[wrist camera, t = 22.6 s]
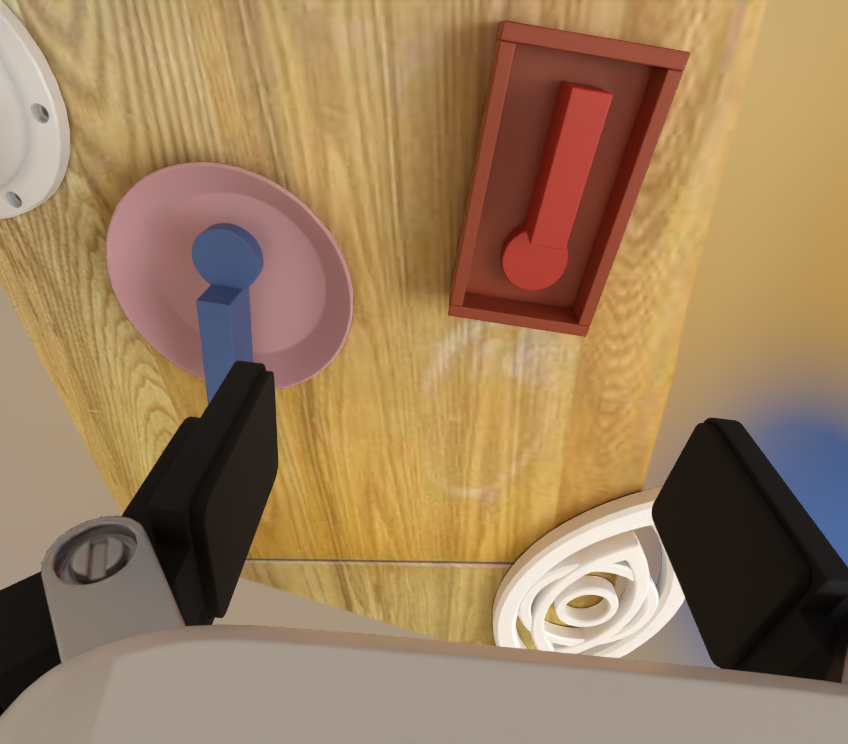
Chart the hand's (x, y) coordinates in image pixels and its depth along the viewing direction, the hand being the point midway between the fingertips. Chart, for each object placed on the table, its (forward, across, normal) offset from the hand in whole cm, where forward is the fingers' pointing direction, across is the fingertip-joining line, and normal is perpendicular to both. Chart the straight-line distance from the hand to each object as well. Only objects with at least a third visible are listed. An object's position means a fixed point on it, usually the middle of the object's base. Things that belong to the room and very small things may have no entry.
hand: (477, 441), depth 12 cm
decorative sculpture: (+17, -18, +19) cm, 31 cm away
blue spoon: (+18, +12, +8) cm, 23 cm away
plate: (+21, +12, +7) cm, 25 cm away
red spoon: (+19, -5, -1) cm, 20 cm away
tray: (+20, -5, -1) cm, 20 cm away
